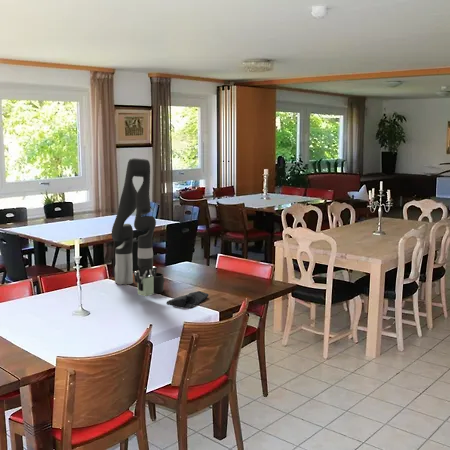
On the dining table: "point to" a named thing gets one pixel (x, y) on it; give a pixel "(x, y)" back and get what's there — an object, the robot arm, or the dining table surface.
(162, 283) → the mug
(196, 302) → the dark slate chunk
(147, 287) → the pale green block
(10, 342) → the dining table surface
